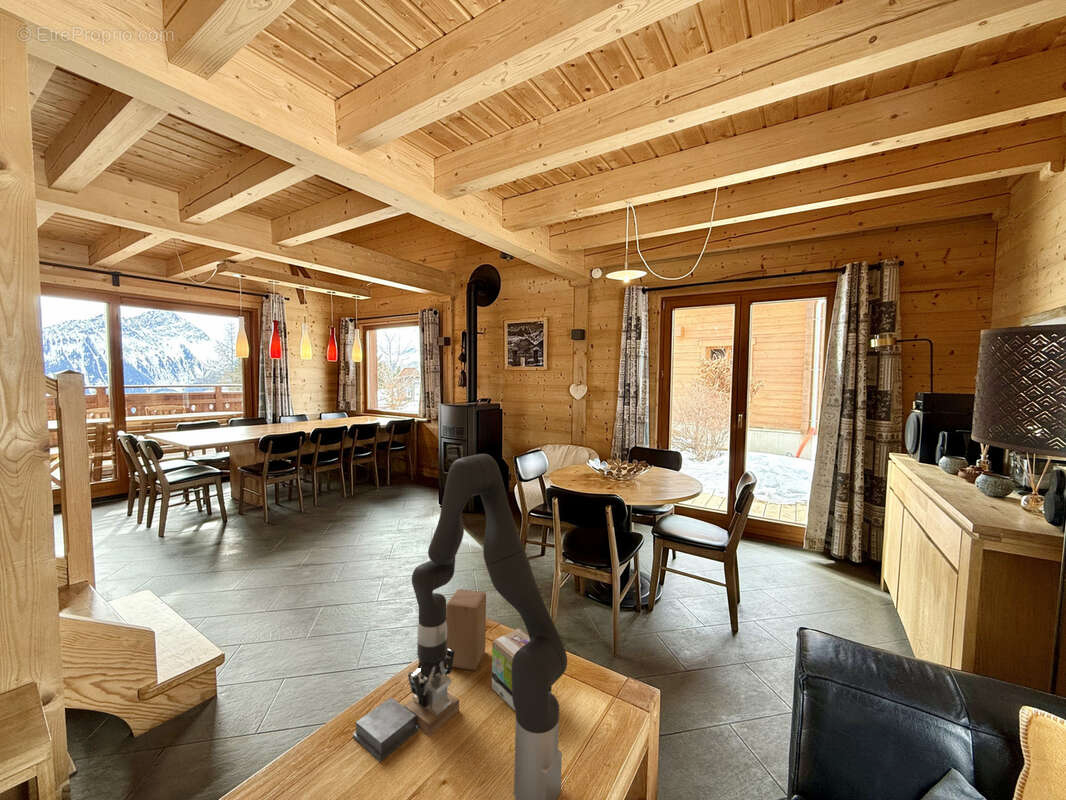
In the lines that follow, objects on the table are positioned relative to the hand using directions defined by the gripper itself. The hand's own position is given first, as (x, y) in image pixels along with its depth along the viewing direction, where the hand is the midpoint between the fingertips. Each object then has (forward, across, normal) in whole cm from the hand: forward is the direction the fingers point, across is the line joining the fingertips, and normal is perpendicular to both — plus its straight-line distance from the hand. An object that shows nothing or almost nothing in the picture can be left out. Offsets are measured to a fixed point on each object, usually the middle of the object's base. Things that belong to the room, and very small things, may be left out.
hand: (432, 698), depth 112 cm
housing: (+1, 0, 0) cm, 1 cm away
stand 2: (+4, 0, 0) cm, 4 cm away
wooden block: (+4, +21, +8) cm, 23 cm away
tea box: (+4, +19, -15) cm, 24 cm away
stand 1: (+4, -11, +4) cm, 12 cm away
